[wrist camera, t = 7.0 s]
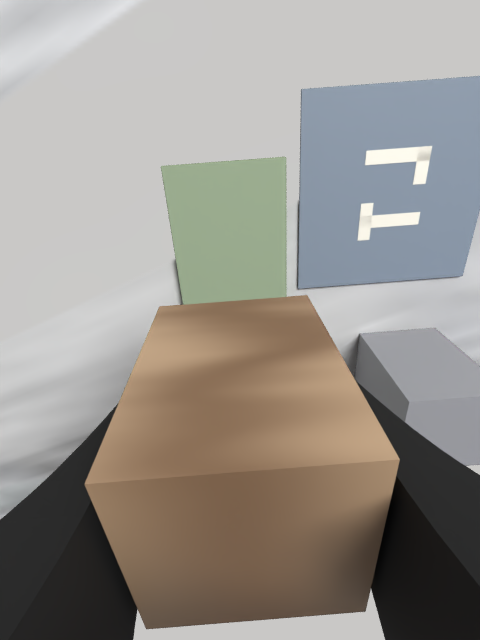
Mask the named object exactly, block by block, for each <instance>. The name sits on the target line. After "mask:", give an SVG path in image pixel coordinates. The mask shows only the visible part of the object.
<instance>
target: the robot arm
mask: <svg viewBox="0 0 480 640" xmlns="http://www.w3.org/2000/svg"><path fill="white" fill-rule="evenodd" d="M355 381H356V380H355ZM356 383H357V384H358V386H359V388H360V390H361V391H362V393H363V395H364V397H365V399H366V400H367V402H368V404H369V406H370V407H371V409H372V411H373V413H374V415H375V416H376V418H377V420H378V422H379V423H380V425H381V427H382V429H383V430H384V432H385V434H386V436H387V438H388V439H389V441H390V443H391V445H392V446H393V448H394V450H395V452H396V453H397V455H398V457H399V459H400V461H399V465H398V470H397V474H396V479H395V483H394V488H393V492H392V496H391V501H390V505H389V510H388V514H387V519H386V523H385V527H384V532H383V536H382V541H381V545H380V550H379V554H378V558H377V563H376V567H375V572H374V576H373V580H372V585H371V589H372V593H373V597H374V600H375V604H376V607H377V611H378V614H379V618H380V622H381V626H382V629H383V633H384V637H385V640H480V475H479V474H477V473H475V472H474V471H472V470H471V469H469V468H468V467H466V466H465V465H463V464H462V463H460V462H459V461H457V460H456V459H454V458H453V457H451V456H450V455H448V454H447V453H446V452H444V451H443V450H441V449H440V448H438V447H437V446H436V445H434V444H433V443H432V442H430V441H429V440H428V439H426V438H425V437H424V436H422V435H421V434H420V433H418V432H417V431H416V430H414V429H413V428H412V427H410V426H409V425H408V424H407V423H405V422H404V421H403V420H401V419H400V418H399V417H398V416H397V415H395V414H394V413H393V412H392V411H391V410H389V409H388V408H387V407H386V406H384V405H383V404H382V403H381V402H380V401H379V400H377V399H376V398H375V397H374V396H373V395H372V394H371V393H369V392H368V391H367V390H366V389H365V388H364V387H363V386H362V385H360V384H359V383H358V382H357V381H356ZM117 406H118V404H117V405H116V407H115V408H114V409H113V410H112V411H111V412H110V413H109V415H108V416H107V417H106V418H105V419H104V420H103V421H102V422H101V423H100V425H99V426H98V427H97V428H96V429H95V430H94V431H93V432H92V433H91V434H90V435H89V437H88V438H87V439H86V440H85V441H84V442H83V443H82V444H81V445H80V446H79V447H78V448H77V449H76V450H75V451H74V452H73V453H72V454H71V455H70V456H69V457H68V458H67V459H66V460H65V461H64V462H63V463H62V464H61V465H60V466H59V467H58V468H57V469H56V470H55V471H54V472H53V473H52V474H51V475H50V476H49V477H48V478H47V479H46V480H45V481H44V482H43V483H42V484H41V485H40V486H38V487H37V488H36V489H35V490H34V491H33V492H32V493H31V494H30V495H28V496H27V497H26V498H25V499H24V500H23V501H22V502H20V503H19V504H18V505H17V506H16V507H15V508H14V509H12V510H11V511H10V512H9V513H8V514H7V515H5V516H4V517H3V518H2V519H1V520H0V640H133V636H134V628H135V621H136V614H137V606H136V604H135V602H134V599H133V597H132V594H131V592H130V590H129V587H128V585H127V583H126V580H125V578H124V576H123V573H122V571H121V569H120V566H119V564H118V562H117V559H116V557H115V555H114V552H113V550H112V548H111V545H110V543H109V541H108V538H107V536H106V534H105V531H104V529H103V527H102V524H101V522H100V520H99V517H98V515H97V513H96V510H95V508H94V506H93V503H92V501H91V498H90V496H89V494H88V491H87V489H86V487H85V482H86V479H87V477H88V474H89V472H90V470H91V467H92V465H93V463H94V460H95V458H96V456H97V453H98V451H99V448H100V446H101V444H102V441H103V439H104V437H105V434H106V432H107V430H108V427H109V425H110V422H111V420H112V418H113V415H114V413H115V411H116V408H117Z"/></svg>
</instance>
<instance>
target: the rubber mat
mask: <svg viewBox="0 0 480 640" xmlns="http://www.w3.org/2000/svg"><path fill="white" fill-rule="evenodd" d="M161 171H162V177H163V183H164V189H165V195H166V201H167V207H168V214H169V220H170V226H171V233H172V239H173V245H174V251H175V258H176V264H177V270H178V276H179V282H180V289H181V295H182V301H183V305H186V304H199V303H212V302H225V301H238V300H252V299H265V298H278V297H286V157H276V158H263V159H249V160H235V161H222V162H209V163H197V164H196V163H195V164H182V165H169V166H161Z"/></svg>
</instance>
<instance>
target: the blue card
mask: <svg viewBox="0 0 480 640" xmlns="http://www.w3.org/2000/svg"><path fill="white" fill-rule="evenodd" d="M300 135H301V136H300V195H299V256H298V289H300V288H313V287H326V286H339V285H352V284H365V283H378V282H391V281H404V280H417V279H430V278H443V277H456V276H463V272H464V268H465V264H466V261H467V257H468V253H469V249H470V245H471V241H472V238H473V234H474V230H475V226H476V222H477V218H478V214H479V211H480V76H473V77H459V78H446V79H432V80H420V81H405V82H392V83H380V84H379V83H378V84H365V85H352V86H338V87H324V88H310V89H301V134H300Z"/></svg>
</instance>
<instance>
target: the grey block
mask: <svg viewBox="0 0 480 640" xmlns="http://www.w3.org/2000/svg"><path fill="white" fill-rule="evenodd" d="M355 380H356V381H357V382H358V383H359V384H360V385H362V386H363V387H364V388H365V389H366V390H367V391H368V392H369V393H371V394H372V395H373V396H374V397H375V398H376V399H377V400H379V401H380V402H381V403H382V404H383V405H384V406H386V407H387V408H388V409H389V410H391V411H392V412H393V413H394V414H395V415H397V416H398V417H399V418H400V419H401V420H403V421H404V422H405V423H407V424H408V425H409V426H410V427H412V428H413V429H414V430H416V431H417V432H418V433H420V434H421V435H422V436H424V437H425V438H426V439H428V440H429V441H430V442H432V443H433V444H434V445H436V446H437V447H438V448H440V449H441V450H443V451H444V452H446V453H447V454H448V455H450V456H451V457H453V458H454V459H456V460H457V461H459V462H460V463H462V464H463V465H465V466H468V465H480V366H479V365H478V364H477V363H476V362H474V361H473V360H472V359H471V358H470V357H469V356H467V355H466V354H465V353H464V352H463V351H462V350H460V349H459V348H458V347H457V346H456V345H455V344H453V343H452V342H451V341H450V340H449V339H448V338H446V337H445V336H444V335H443V334H442V333H441V332H439V331H438V330H437V329H436V328H425V329H412V330H399V331H387V332H374V333H361V334H360V335H359V344H358V353H357V361H356V370H355Z"/></svg>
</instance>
